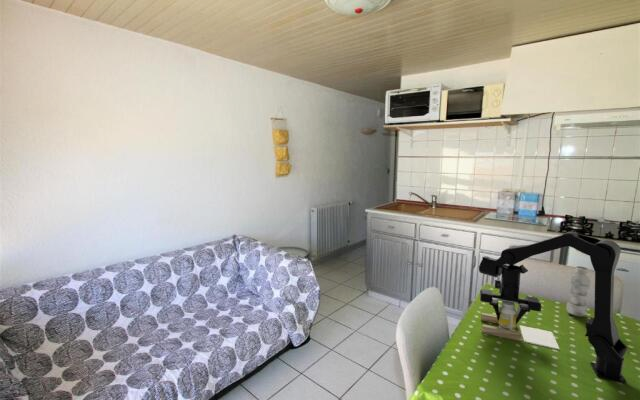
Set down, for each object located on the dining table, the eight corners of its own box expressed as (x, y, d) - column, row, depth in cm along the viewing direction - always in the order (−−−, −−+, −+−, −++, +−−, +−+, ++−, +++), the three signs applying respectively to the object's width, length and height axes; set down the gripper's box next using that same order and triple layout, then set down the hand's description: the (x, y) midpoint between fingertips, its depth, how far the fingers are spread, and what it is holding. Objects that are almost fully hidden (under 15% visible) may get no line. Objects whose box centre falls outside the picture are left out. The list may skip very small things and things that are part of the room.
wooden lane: (520, 341, 107) (521, 334, 106) (482, 332, 112) (482, 326, 112) (516, 325, 116) (517, 319, 116) (481, 318, 122) (481, 312, 121)
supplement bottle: (510, 324, 115) (512, 299, 114) (518, 332, 110) (520, 306, 109) (495, 323, 116) (497, 299, 114) (502, 331, 110) (504, 306, 109)
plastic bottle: (562, 312, 126) (567, 266, 123) (571, 309, 129) (577, 264, 126) (580, 320, 120) (587, 272, 117) (589, 316, 123) (596, 269, 120)
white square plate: (559, 349, 102) (559, 348, 102) (524, 341, 106) (524, 340, 106) (551, 332, 112) (551, 331, 112) (519, 326, 116) (519, 325, 116)
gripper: (537, 277, 114) (533, 316, 116) (480, 270, 122) (478, 306, 124) (543, 289, 104) (539, 331, 106) (481, 279, 112) (479, 319, 114)
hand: (507, 321), depth 113 cm, fingers closed on supplement bottle, 5 cm apart
